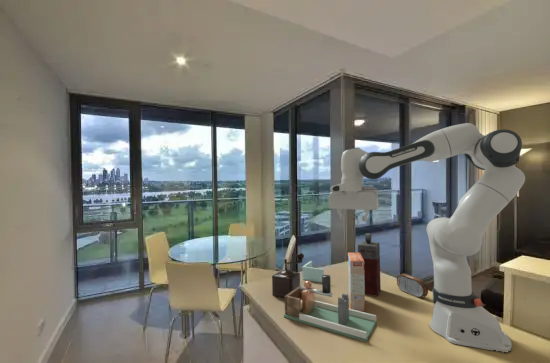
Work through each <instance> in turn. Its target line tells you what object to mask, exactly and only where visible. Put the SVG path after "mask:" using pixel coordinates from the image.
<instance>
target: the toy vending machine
mask: <svg viewBox="0 0 550 363" xmlns="http://www.w3.org/2000/svg"><path fill="white" fill-rule="evenodd" d="M357 253H361V256H362V258H363V260H364V280H365V295H367V296H374V297H379V296H380V292H381V287H382V285H381V261H380V259H381V258H380V256H381V254H380V253H381V251H380V242H378V241H372V234H371V233H368V232H367V233H365V239H364V240H361V241H360V242H358V244H357Z"/></svg>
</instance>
